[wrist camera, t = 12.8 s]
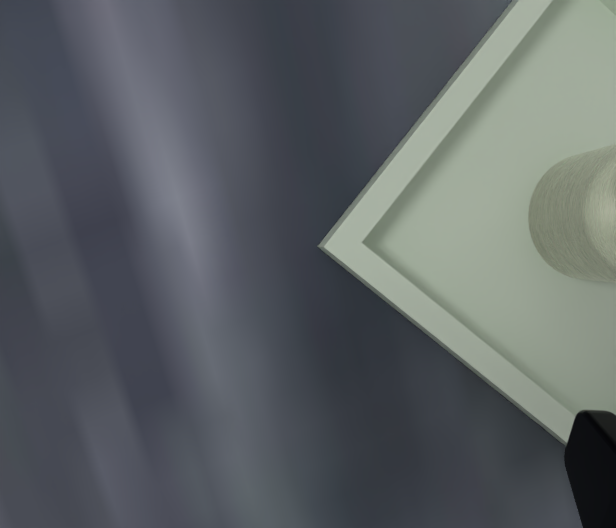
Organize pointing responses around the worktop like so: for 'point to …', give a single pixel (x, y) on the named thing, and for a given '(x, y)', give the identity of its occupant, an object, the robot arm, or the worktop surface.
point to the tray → (499, 213)
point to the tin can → (578, 215)
